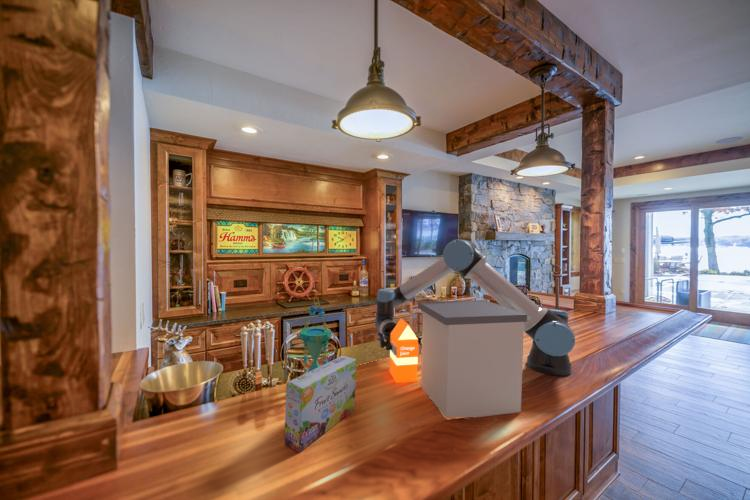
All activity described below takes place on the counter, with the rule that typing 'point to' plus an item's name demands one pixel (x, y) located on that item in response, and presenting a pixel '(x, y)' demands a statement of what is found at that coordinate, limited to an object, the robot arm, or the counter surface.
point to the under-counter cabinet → (472, 357)
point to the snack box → (319, 401)
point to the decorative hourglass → (315, 339)
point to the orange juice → (404, 353)
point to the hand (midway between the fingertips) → (408, 350)
